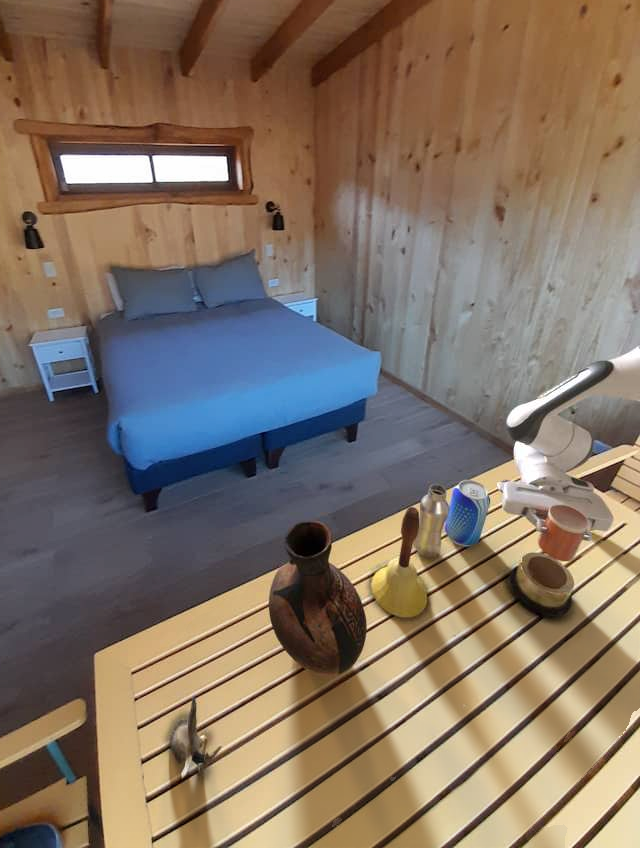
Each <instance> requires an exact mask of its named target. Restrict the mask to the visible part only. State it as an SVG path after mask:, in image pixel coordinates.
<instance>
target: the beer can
mask: <svg viewBox="0 0 640 848" xmlns="http://www.w3.org/2000/svg"><path fill="white" fill-rule="evenodd" d="M490 505H491V498H490V495H489V491H488V489H487V487H485V485H483V484H482V483H480V482H479V481H477V480H472V479H464V480H462V481H460V482H459V483H458V484H457V485H456V486H455V487H454V488H453V489H452V493H451V498H450V502H449V510H450V512H449V515H448V517H447V519H446V521H445V523H444V531H445V534H446V535H447V537H448V538H449V540H450V541H452V542H453V543H454V544H456V545H458V546H461V547H472V546H475V545H476V544H478V543H479V541H480V539H481V535H482V532H483V529H484V525H485V522H486V518H487V516H488V512H489V508H490Z"/></svg>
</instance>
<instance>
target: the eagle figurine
mask: <svg viewBox="0 0 640 848" xmlns="http://www.w3.org/2000/svg"><path fill="white" fill-rule="evenodd" d="M197 706H198V705H197V702H196V695H193V696H192V698H191V705H190V709H189V712H188V713H189V714H188V718H186V717H185V718H180V720H178V721H177V723H176V725H174V726H173V727H174V728H173V730H172V731H171V735H170V738H169V747H170V749H171V751H172V755H173V758H174V760H175V761H176V762H177V763H178V764H182V763H183V762H185V764H184V767H183V770H182V772H181V775H180V776H181V779H184V777H186V776H187V774H188V773H189V770H190V768H191V766H192V762H193V763H194V764H195V765H196V766H197V773H196V776H197V777H200V774H201V775H205V770H206V768H207V767H208V766H209V764H210V763H211V762H212V760H213V759H214V758H215V757H216V756H217V755H218V753H219V752H220V751H221V749H222V745H219V746H218V747H217V748H215V749H214V750H213V752H212V753H209V752H206V753H205V752H203V751H202V747H203V745H204V743H205V741H206V740H208V737H207V736H205V734H203V735H201V736H199V732H198V729H197V725H198V724H197V723H198V721H197Z"/></svg>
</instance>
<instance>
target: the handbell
mask: <svg viewBox="0 0 640 848" xmlns="http://www.w3.org/2000/svg"><path fill="white" fill-rule="evenodd" d="M419 518H420V511H419V510H418V509H417V508H416V507H414V506H410V507H408V508H407V509H406V510H405V513H404V515H403V517H402V520H401V526H400V534H401V547H400V551H399V558H394V559H392V560H391V561H389V562H388V564H387V566H384V567H382V568H380V569H379V570H378V571H376V572H375V574H374V576H373V577H372V579H371V585H370V587H371V591H372V595H373V597H374V599H375V601H376V603H377V604H378V605H379V606H380V607H381V608H382V609H383V610H384V611H386V612H387V613H389V614H390V615H393V616H396V617H399V618H412V617H416V616H418V615H420V614H421V613H422V612H423V611H424V610H425V608H426V606H427V604H428V592H427V590H426V587H425V585H424V583H423V582H422V580H421V579H420V577H418V572H417V568H416V567H415V566H414V564H413V563H412V562H410V560H411V555H412V551H413V550H412V549H413V541H414V540H415V539H416V537H417V535H418V531H419V524H420V522H419Z"/></svg>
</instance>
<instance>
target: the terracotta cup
mask: <svg viewBox="0 0 640 848" xmlns="http://www.w3.org/2000/svg"><path fill="white" fill-rule="evenodd" d="M544 521H545V523H546V526H547V530H545V531H546V532H545V533H544V532H539V535H538V539H537V544H538V546H539V548H540V550H541V551H542V552H543V554H545V555H548V556H550V557H552V558H554V559H556V560H558V561H559V562H570V561H572V560H574V559H575V557H576V555H577V553H578V551H579V548H580V546H581V544H582V542H583V541H584V540H583V537H584V535H585V533H586V531H587V529H588V527H589V521H588V519H587V518H586V516H585V515H584V514H583V513H581V512H580V511H578V510H577V509H575V508H573V507H570V506H567V505H562V504H556V505H553V506H551V507H550V509H549V511H548V515H547V517H546V520H544Z"/></svg>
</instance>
